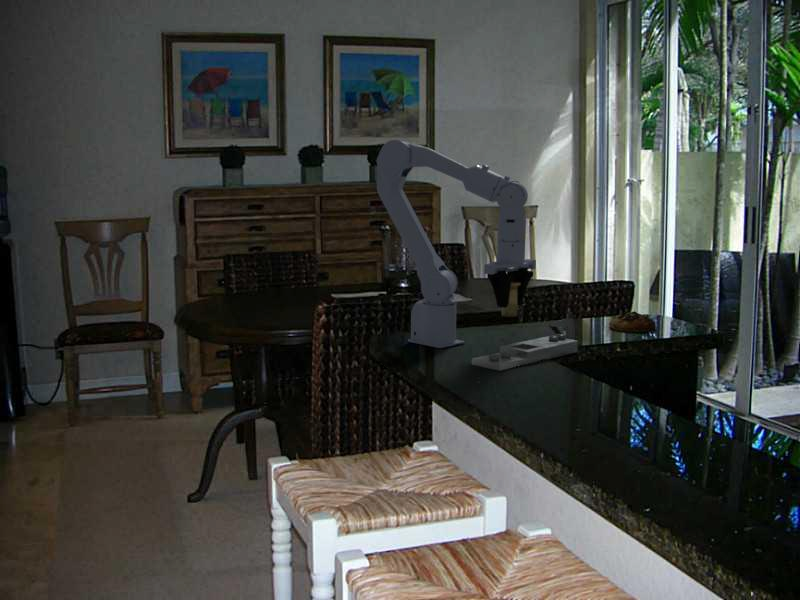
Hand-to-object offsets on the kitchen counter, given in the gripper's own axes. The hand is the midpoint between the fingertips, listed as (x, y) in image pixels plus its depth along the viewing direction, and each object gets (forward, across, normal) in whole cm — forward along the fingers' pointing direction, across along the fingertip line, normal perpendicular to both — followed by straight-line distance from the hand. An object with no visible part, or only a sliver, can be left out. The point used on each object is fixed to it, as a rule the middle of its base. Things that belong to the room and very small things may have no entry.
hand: (509, 305), depth 197 cm
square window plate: (+9, -10, -9) cm, 16 cm away
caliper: (+9, +22, +3) cm, 24 cm away
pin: (+2, 0, 0) cm, 2 cm away
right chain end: (+9, -1, -9) cm, 13 cm away
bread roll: (+9, +39, -6) cm, 40 cm away
